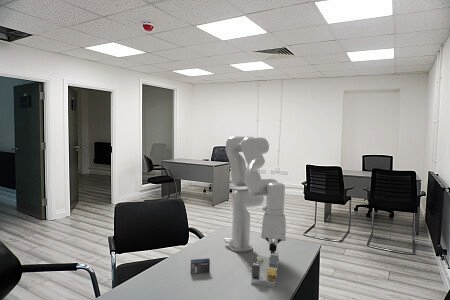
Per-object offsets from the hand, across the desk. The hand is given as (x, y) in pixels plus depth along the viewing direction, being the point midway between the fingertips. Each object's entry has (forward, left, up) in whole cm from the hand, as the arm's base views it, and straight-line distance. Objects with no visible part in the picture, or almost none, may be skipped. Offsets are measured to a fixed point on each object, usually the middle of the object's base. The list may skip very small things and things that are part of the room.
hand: (272, 252), depth 130 cm
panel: (-3, +2, -10) cm, 11 cm away
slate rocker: (0, +9, -7) cm, 11 cm away
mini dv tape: (-31, -7, -11) cm, 33 cm away
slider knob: (-6, -7, -8) cm, 12 cm away
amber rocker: (0, -4, -7) cm, 8 cm away
